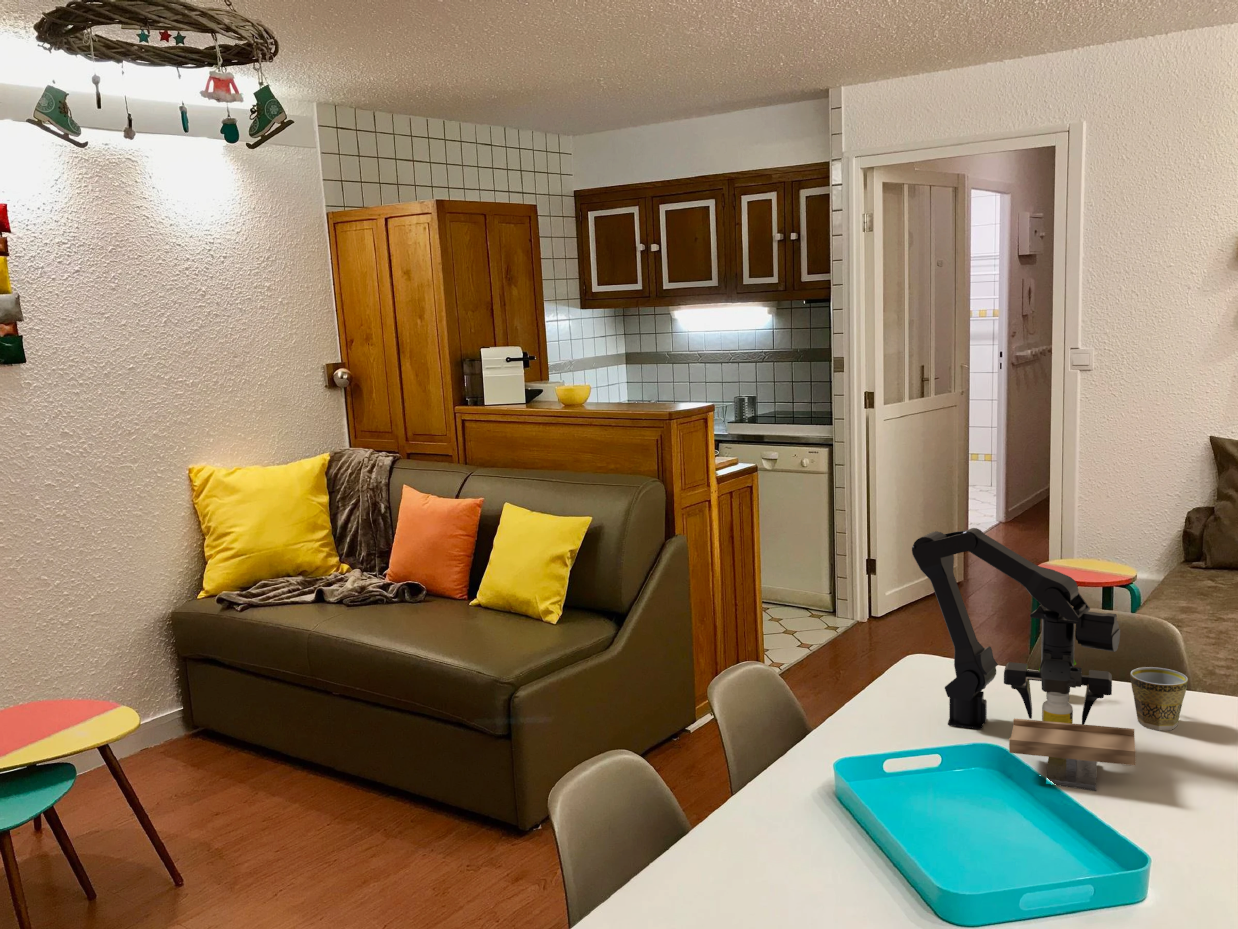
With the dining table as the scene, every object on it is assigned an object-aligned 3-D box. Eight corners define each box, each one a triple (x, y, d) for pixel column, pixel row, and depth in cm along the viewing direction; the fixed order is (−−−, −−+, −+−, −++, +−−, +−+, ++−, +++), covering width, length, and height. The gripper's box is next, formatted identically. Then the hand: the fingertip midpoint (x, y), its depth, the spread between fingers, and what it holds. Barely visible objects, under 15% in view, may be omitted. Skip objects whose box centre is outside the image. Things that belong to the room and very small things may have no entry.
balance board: (1009, 752, 182) (1009, 739, 181) (1014, 731, 191) (1013, 718, 190) (1135, 765, 173) (1135, 751, 173) (1134, 742, 182) (1134, 729, 182)
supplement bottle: (1075, 747, 193) (1076, 698, 192) (1044, 746, 194) (1045, 697, 193) (1068, 736, 198) (1069, 687, 197) (1039, 735, 199) (1039, 687, 198)
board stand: (1045, 784, 179) (1045, 759, 179) (1048, 758, 189) (1049, 735, 188) (1095, 791, 176) (1096, 766, 175) (1096, 764, 186) (1097, 741, 185)
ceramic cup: (1196, 733, 197) (1198, 683, 195) (1144, 735, 197) (1145, 685, 195) (1162, 708, 209) (1163, 661, 208) (1113, 709, 210) (1114, 663, 208)
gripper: (1001, 651, 190) (1000, 730, 193) (1112, 661, 182) (1110, 744, 185) (1006, 633, 200) (1006, 709, 202) (1112, 642, 192) (1110, 721, 194)
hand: (1056, 721), depth 196 cm, fingers open, 9 cm apart
